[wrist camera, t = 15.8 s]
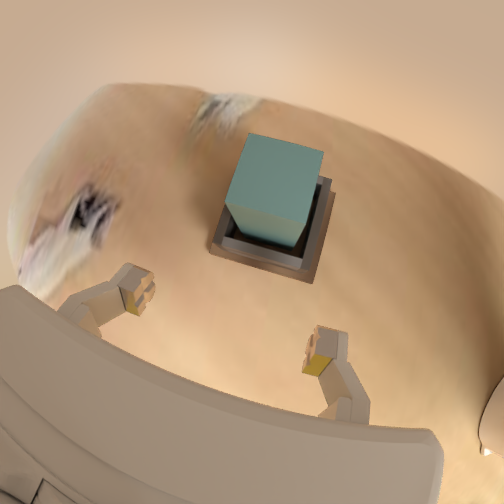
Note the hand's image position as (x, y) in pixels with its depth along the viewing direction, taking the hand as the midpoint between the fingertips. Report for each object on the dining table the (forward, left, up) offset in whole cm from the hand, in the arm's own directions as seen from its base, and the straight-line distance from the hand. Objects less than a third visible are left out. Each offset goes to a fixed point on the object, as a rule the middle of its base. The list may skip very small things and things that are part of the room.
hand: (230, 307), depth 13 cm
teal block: (0, -8, -15) cm, 17 cm away
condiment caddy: (0, -8, -16) cm, 18 cm away
